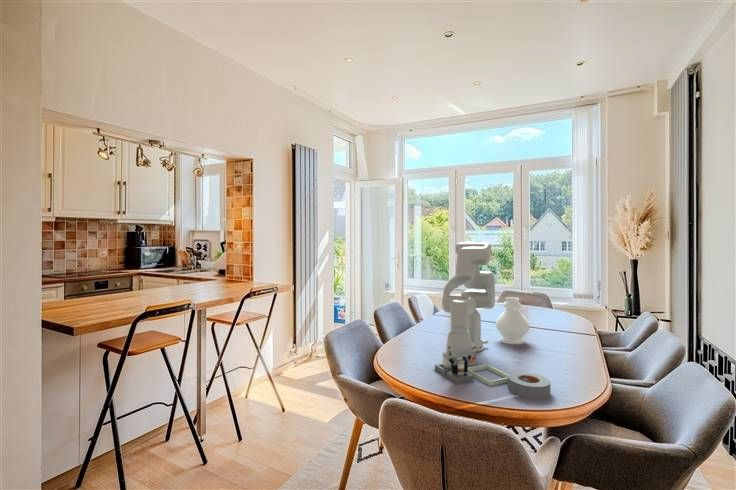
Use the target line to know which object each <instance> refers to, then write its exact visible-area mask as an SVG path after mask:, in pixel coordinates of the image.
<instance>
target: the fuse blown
mask: <svg viewBox="0 0 736 490" xmlns="http://www.w3.org/2000/svg"><path fill="white" fill-rule="evenodd" d="M464 363H465V360H464V359H461V358H457V363H456V365H457V375H456V374H455V375H456V376H457V377H460V376H464Z"/></svg>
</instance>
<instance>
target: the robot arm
mask: <svg viewBox="0 0 736 490" xmlns="http://www.w3.org/2000/svg"><path fill="white" fill-rule="evenodd" d="M454 247H455V249H454V250H455V253H456V265H455V275H454V276H453V277H451V278H450V279H449V280H448V281H447V283H446V285H445V286H444V289H443V292H442V300H441V307H442V310H443V311H444V312H445V313H447V314H449V313H450V317H449V318H450V322H449V323H450V324H449V325H450V327H449V328H450V329H449V332H448V333H447V338H446V339H447V340H446V349H445V350H446V351H445V352H446V355H445V358H446V359H447V360H448V361H449V362H450V363H451V371H452V373H454V374H456V375H457V365H456V363H457V358H459V357H462V359H464V360H465V363H464V372H465V373H467V369H468V366H469V365H468V363H469V360H470V359H471V357H472V356H473V355H474V352H473V350H472V343H475V344H476V346H477V347H476V353H478V352H482V351H484V349H485V348H484V346H483V345H487V344H488V343H489V341H488V339H485V340H483V339H482V337H481V336H482V333H481V332H482V331H481V330H482V327H481V326H482V318H481V317H482V316H481V314H480V312H479V311H478V310H477V309H485V310H488V309H489V310H491V309H493V308H494V307H495V305H496V304H495V303H496V281H495V276H494V273H493V272H492V271H489V270H480V266H487V265H489V263H490V261H491V257H492V250H493V249H492V245H491V244H490V243H489V242H485V241H483V242H481V241H479V242H477V241H473V242H472V241H463V242H458V243H456V245H455V246H454ZM460 286H461V287H462V286H464V288H467V289H465V290H463V291H462V292H461V294H460V295H451V293H452V291H453V290H455V289H456V288H458V287H460ZM450 355H451V358H450Z"/></svg>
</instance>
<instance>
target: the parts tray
mask: <svg viewBox="0 0 736 490" xmlns="http://www.w3.org/2000/svg"><path fill="white" fill-rule="evenodd" d="M482 370H489V371H491V372H492V373H495V374H497V375H499V376H500V377H502V378H498V379H493V380H490V379H487V378H486V377H484V376H482V375H480V374H479V373H477V371H482ZM467 372H468V373H469V374H471V375H473V378H476V379H477V380H479V381H480V382H482V383H484V384H486V385H488V386H489V387H491V386H492V387H493V386H497V385H503V384H508V375H509V374H508V373H506V372H504V371H502V370H499V369H498V368H495V367H494V366H492V365H489V364H488V363H487V364H482V365H481V364H480V365H475V366H469V367H468V369H467Z"/></svg>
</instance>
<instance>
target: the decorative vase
mask: <svg viewBox="0 0 736 490" xmlns="http://www.w3.org/2000/svg"><path fill="white" fill-rule="evenodd" d="M503 307H504V308H505V309H504V311H503V312H502V313H500V315H499V316H498V317H497V319H496V320H495V321H496V322H495V327H496V329H497V331H498V333H499V334H500V335H501V336H502V337H500V341H501V342H502V343H505V344H510V345H523V344H525V340H523V338H524V337H525V336H526V335H527V333H529V330H530V323H529V321H528V319H527V318H526V317H525V315H524V314H523V313H522V312H521V311H520V309H521V307H522V303H521V302H520V297H517V296H506V297H505V301H504V302H503Z"/></svg>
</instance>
